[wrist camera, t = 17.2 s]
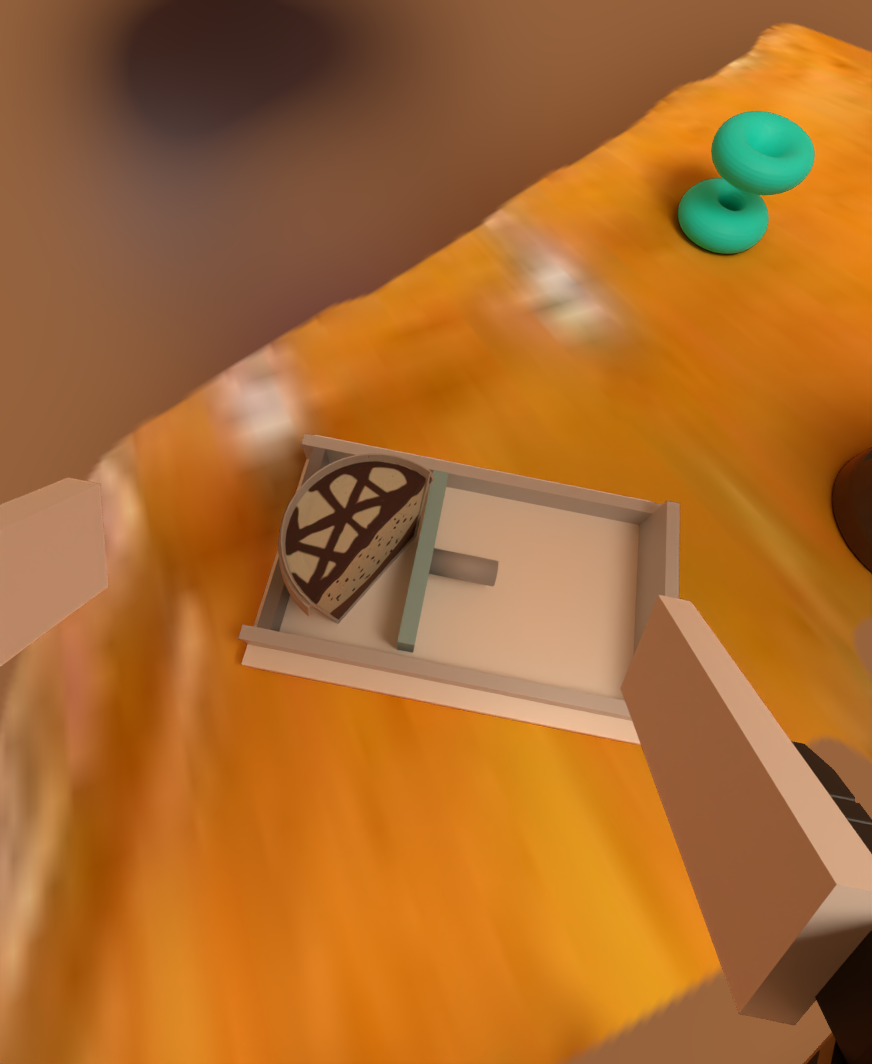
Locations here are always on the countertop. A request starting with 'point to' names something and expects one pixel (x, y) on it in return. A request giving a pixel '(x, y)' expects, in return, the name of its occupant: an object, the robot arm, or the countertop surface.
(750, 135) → the donuts
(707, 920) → the robot arm
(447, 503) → the pusher lane
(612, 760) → the countertop surface
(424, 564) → the pusher paddle
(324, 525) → the food container
